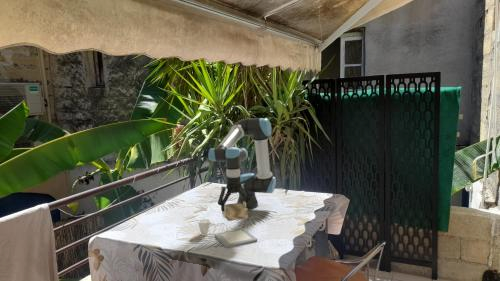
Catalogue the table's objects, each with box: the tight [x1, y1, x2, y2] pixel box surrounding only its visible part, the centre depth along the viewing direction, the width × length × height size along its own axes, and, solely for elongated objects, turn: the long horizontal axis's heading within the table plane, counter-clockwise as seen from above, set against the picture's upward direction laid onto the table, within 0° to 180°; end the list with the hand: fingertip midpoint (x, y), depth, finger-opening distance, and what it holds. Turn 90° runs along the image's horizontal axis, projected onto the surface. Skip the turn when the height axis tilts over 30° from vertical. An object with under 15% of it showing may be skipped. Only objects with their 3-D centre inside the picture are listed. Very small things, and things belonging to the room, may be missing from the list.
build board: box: [214, 228, 258, 249], centre depth 195 cm, size 18×18×1 cm
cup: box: [197, 218, 217, 236], centre depth 203 cm, size 7×10×8 cm
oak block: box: [221, 202, 249, 222], centre depth 193 cm, size 11×13×5 cm
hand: (234, 214), depth 194 cm, fingers closed on oak block, 11 cm apart
